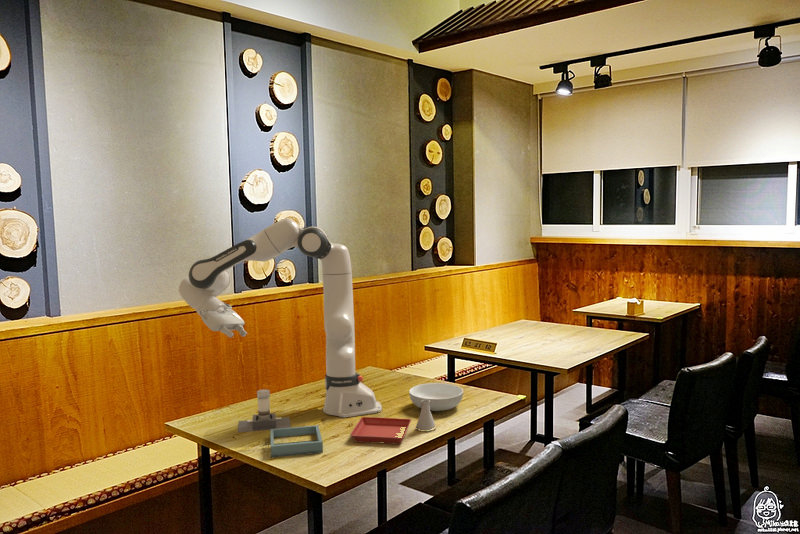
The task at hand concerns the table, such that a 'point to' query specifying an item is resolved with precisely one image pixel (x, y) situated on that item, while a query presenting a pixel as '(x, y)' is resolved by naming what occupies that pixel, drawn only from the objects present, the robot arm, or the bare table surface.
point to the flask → (425, 417)
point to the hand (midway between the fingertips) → (238, 335)
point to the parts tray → (296, 447)
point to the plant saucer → (379, 429)
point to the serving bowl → (437, 395)
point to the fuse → (263, 404)
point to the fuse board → (264, 423)
